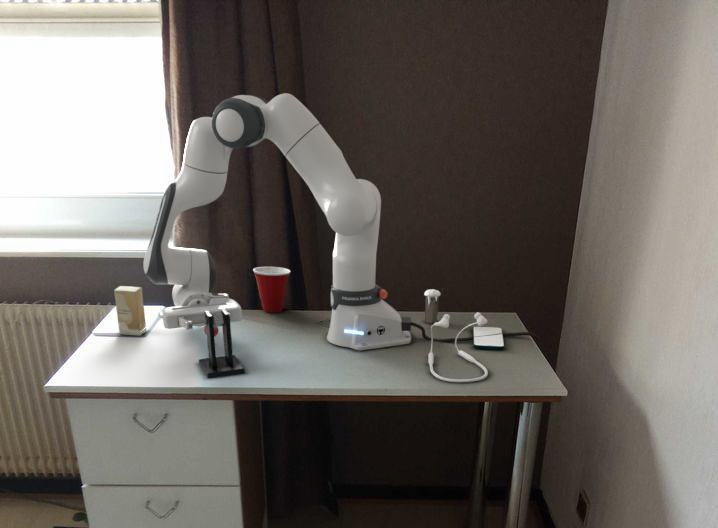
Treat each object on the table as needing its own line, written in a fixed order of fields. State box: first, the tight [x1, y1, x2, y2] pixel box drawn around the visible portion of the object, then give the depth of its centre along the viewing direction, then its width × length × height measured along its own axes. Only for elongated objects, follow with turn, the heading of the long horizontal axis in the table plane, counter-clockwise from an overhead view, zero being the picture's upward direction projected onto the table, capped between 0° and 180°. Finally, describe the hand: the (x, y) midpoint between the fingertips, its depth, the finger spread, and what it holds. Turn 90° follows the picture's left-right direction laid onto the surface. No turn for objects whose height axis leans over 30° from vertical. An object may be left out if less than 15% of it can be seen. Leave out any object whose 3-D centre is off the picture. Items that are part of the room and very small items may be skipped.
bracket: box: [198, 309, 246, 379], centre depth 180 cm, size 10×9×14 cm
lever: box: [203, 313, 224, 338], centre depth 182 cm, size 13×4×4 cm, turn 21°
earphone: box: [427, 311, 489, 384], centre depth 182 cm, size 14×17×18 cm
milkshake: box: [423, 287, 445, 325], centre depth 212 cm, size 4×5×10 cm
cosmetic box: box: [113, 285, 147, 337], centre depth 203 cm, size 6×4×12 cm
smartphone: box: [472, 326, 505, 350], centre depth 202 cm, size 8×1×16 cm
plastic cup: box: [252, 266, 291, 313], centre depth 221 cm, size 11×11×12 cm
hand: (208, 324), depth 188 cm, fingers open, 8 cm apart
